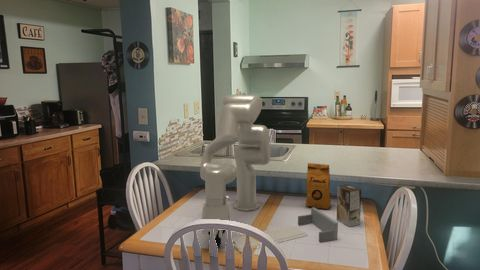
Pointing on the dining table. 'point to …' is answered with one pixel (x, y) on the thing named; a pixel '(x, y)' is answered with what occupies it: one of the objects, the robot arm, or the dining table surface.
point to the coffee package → (318, 186)
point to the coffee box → (348, 205)
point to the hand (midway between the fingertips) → (216, 246)
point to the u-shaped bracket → (321, 224)
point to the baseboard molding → (272, 236)
